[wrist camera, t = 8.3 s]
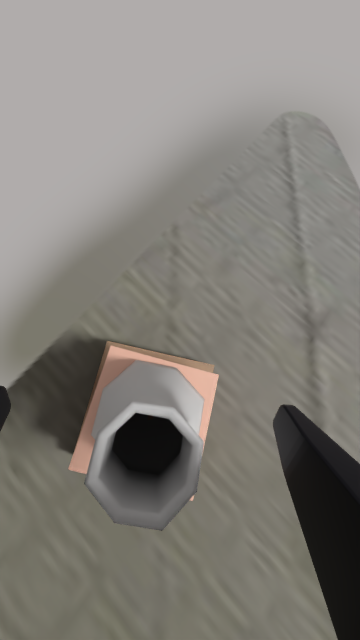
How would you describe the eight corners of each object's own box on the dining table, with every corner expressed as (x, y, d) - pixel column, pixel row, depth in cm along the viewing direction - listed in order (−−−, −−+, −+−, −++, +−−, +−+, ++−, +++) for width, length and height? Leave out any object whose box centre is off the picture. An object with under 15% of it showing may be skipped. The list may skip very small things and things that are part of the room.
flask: (71, 440, 15) (-63, 534, 6) (132, 342, 17) (108, 292, 8) (170, 499, 15) (199, 698, 6) (220, 393, 17) (307, 406, 8)
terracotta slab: (187, 484, 18) (192, 500, 15) (79, 457, 17) (68, 469, 15) (210, 376, 20) (218, 374, 17) (115, 350, 20) (110, 345, 17)
